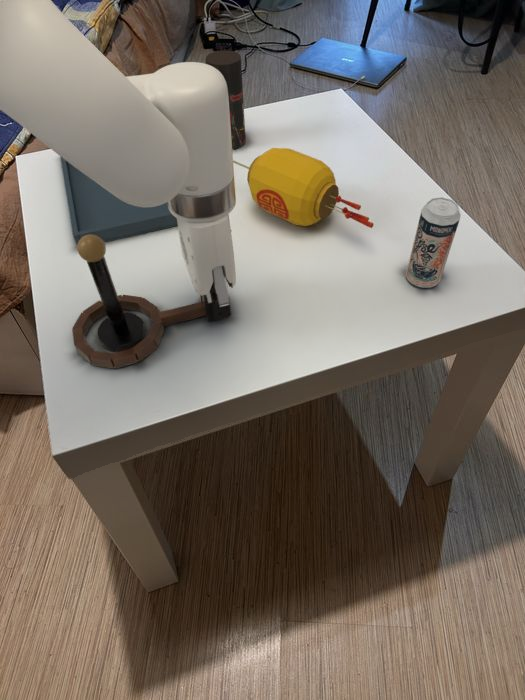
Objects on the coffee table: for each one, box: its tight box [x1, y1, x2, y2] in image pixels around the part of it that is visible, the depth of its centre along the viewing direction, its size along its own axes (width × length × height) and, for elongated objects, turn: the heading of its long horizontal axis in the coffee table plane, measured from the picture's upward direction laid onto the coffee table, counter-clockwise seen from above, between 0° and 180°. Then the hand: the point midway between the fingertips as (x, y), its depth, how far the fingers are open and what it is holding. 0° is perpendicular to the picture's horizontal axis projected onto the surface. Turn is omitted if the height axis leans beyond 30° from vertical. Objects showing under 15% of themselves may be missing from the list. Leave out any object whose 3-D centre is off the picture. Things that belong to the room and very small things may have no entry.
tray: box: [59, 155, 178, 246], centre depth 90 cm, size 18×28×2 cm, turn 18°
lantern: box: [233, 147, 375, 229], centre depth 81 cm, size 10×10×30 cm
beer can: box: [405, 196, 462, 289], centre depth 69 cm, size 5×5×12 cm
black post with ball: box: [76, 234, 146, 353], centre depth 63 cm, size 6×6×16 cm
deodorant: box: [205, 49, 247, 151], centre depth 94 cm, size 6×6×15 cm
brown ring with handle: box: [71, 287, 215, 369], centre depth 68 cm, size 20×11×4 cm, turn 108°
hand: (215, 308), depth 71 cm, fingers closed on brown ring with handle, 2 cm apart
